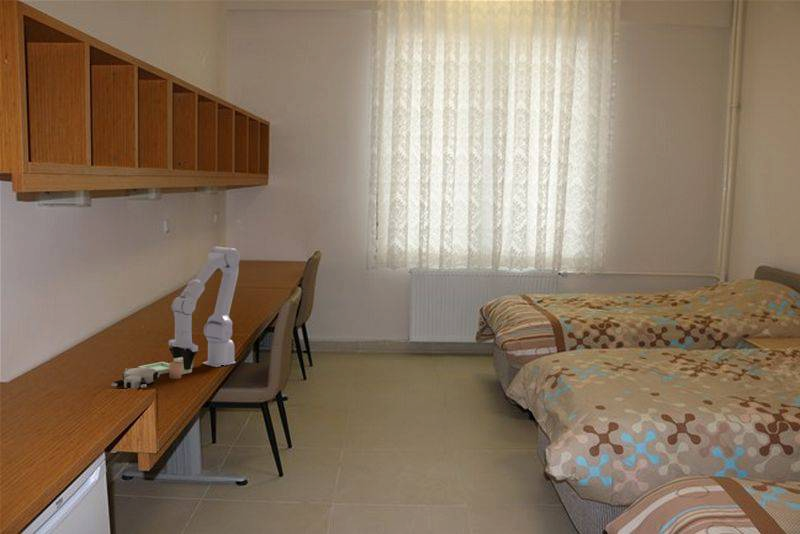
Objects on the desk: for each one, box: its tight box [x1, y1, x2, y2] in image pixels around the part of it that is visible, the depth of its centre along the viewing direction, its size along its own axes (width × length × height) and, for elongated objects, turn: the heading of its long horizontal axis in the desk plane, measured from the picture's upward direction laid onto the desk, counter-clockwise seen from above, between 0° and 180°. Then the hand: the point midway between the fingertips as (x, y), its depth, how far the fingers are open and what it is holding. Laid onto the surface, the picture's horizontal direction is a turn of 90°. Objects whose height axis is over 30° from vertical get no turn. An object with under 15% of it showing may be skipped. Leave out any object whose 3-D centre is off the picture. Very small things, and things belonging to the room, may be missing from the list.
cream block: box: [173, 357, 193, 375], centre depth 253 cm, size 4×4×5 cm
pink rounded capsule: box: [168, 361, 182, 380], centre depth 246 cm, size 4×4×5 cm
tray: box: [137, 361, 170, 376], centre depth 254 cm, size 10×10×1 cm
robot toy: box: [111, 367, 162, 390], centre depth 234 cm, size 12×4×15 cm
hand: (183, 368), depth 253 cm, fingers closed on cream block, 4 cm apart
